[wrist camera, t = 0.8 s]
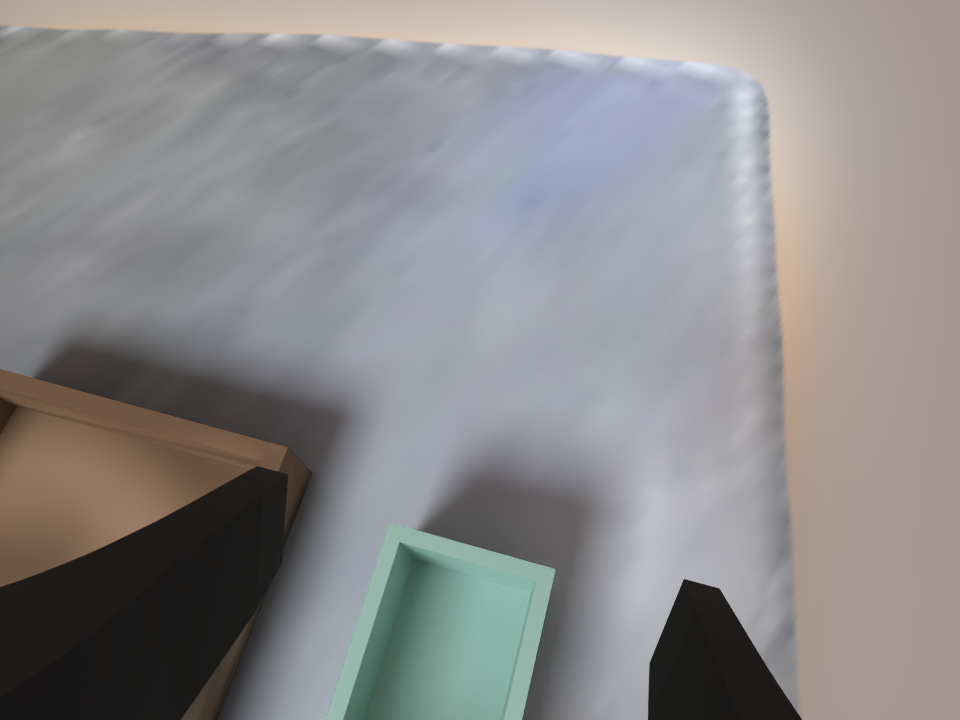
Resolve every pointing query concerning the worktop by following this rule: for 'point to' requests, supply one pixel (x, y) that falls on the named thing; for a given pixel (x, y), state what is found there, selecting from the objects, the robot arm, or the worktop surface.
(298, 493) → the big crate
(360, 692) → the small crate
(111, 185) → the worktop surface
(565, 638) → the worktop surface
